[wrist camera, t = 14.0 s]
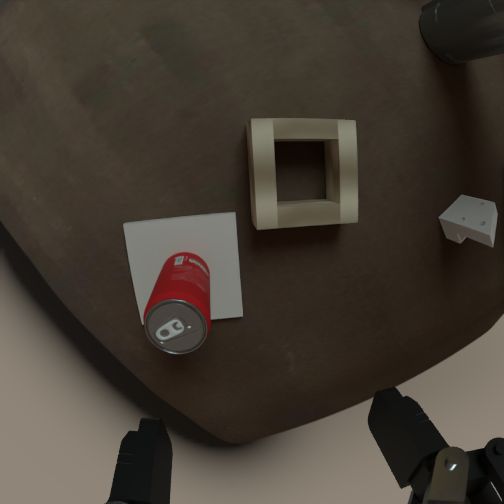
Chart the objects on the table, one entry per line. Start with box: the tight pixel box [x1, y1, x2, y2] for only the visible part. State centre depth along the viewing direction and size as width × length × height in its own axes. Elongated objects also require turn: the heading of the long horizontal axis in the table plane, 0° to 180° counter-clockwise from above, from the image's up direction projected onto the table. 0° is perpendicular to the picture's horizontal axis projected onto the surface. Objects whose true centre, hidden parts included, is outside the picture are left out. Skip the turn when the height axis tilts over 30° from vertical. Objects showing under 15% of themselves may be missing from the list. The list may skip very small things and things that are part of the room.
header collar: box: [246, 118, 358, 230], centre depth 30 cm, size 10×10×4 cm
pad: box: [123, 212, 243, 325], centre depth 33 cm, size 12×12×1 cm
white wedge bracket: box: [438, 195, 498, 247], centre depth 33 cm, size 4×10×9 cm, turn 128°
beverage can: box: [143, 252, 211, 354], centre depth 27 cm, size 5×5×12 cm
